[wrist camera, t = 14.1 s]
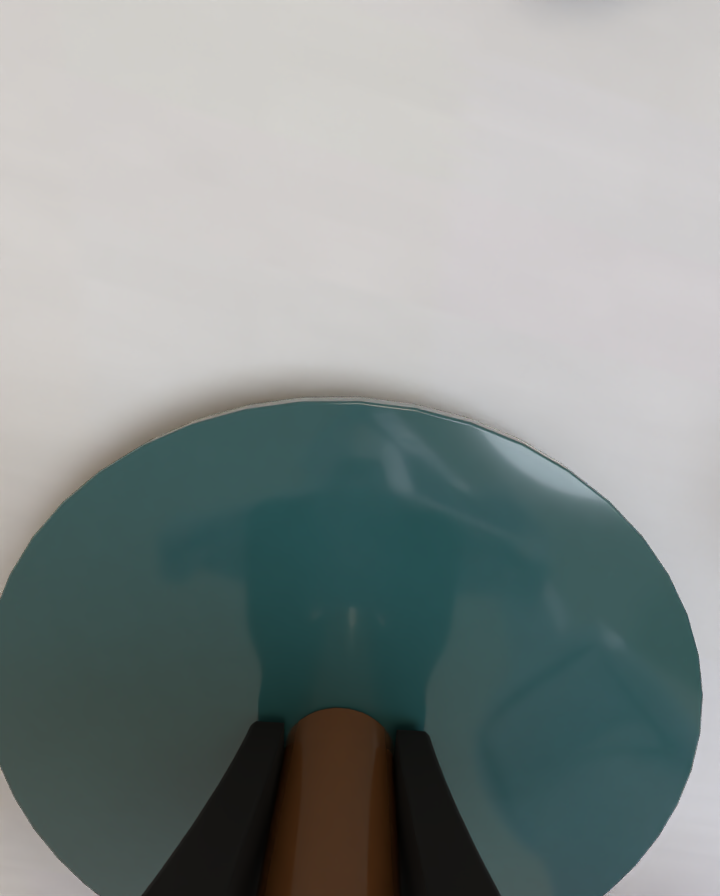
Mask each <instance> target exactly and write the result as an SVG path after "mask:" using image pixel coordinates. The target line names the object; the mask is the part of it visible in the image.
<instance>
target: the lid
mask: <svg viewBox="0 0 720 896" xmlns="http://www.w3.org/2000/svg"><path fill="white" fill-rule="evenodd" d="M702 699H703V693H702V683H701V673H700V663H699V655H698V651H697V648H696V644H695V640H694V637H693V633H692V630H691V626H690V622H689V619H688V615H687V613H686V610H685V608H684V606H683V604H682V602H681V600H680V598H679V595H678V593H677V591H676V589H675V587H674V585H673V583H672V581H671V578H670V576H669V574H668V573H667V571H666V570H665V568H664V567H663V565H662V564H661V563H660V561H659V560H658V558H657V557H656V555H655V554H654V552H653V551H652V549H651V548H650V546H649V545H648V544H647V542H646V541H645V539H644V538H643V536H642V535H641V534H640V533H639V532H638V531H637V530H636V529H635V528H634V527H633V526H632V525H631V524H630V523H629V521H628V520H627V519H626V518H625V517H624V516H623V515H622V514H621V513H620V512H619V511H618V510H617V509H616V508H615V507H614V506H613V505H612V504H611V502H610V501H609V500H607V499H606V498H605V497H604V496H602V495H601V494H600V493H599V492H597V491H596V490H595V489H593V488H592V487H591V486H590V485H588V484H587V483H586V482H585V481H583V480H582V479H581V478H579V477H578V476H577V475H576V474H574V473H573V472H572V471H570V470H569V469H568V468H567V467H565V466H564V465H563V464H562V463H560V462H558V461H557V460H555V459H553V458H551V457H550V456H548V455H546V454H544V453H543V452H541V451H539V450H537V449H536V448H534V447H532V446H530V445H529V444H527V443H525V442H524V441H522V440H520V439H518V438H517V437H514V436H512V435H509V434H507V433H504V432H502V431H499V430H497V429H495V428H492V427H490V426H487V425H485V424H482V423H480V422H477V421H475V420H472V419H470V418H467V417H464V416H460V415H456V414H452V413H448V412H445V411H441V410H437V409H433V408H429V407H425V406H421V405H417V404H413V403H405V402H397V401H389V400H381V399H373V398H365V397H302V398H294V399H287V400H280V401H273V402H265V403H258V404H251V405H247V406H243V407H240V408H236V409H232V410H229V411H225V412H222V413H218V414H214V415H211V416H207V417H204V418H200V419H197V420H195V421H193V422H190V423H188V424H186V425H183V426H181V427H179V428H176V429H174V430H172V431H169V432H167V433H165V434H162V435H160V436H158V437H156V438H153V439H151V440H149V441H148V442H146V443H144V444H143V445H141V446H140V447H138V448H136V449H135V450H133V451H131V452H130V453H128V454H127V455H125V456H123V457H122V458H120V459H118V460H117V461H115V462H114V463H112V464H110V465H109V466H107V467H105V468H104V469H102V470H100V471H99V472H98V473H97V474H96V475H94V476H93V477H92V478H91V479H90V480H88V481H87V482H86V483H85V484H84V485H82V486H81V487H80V488H79V489H78V490H77V491H75V492H74V493H73V494H72V495H71V496H69V497H68V498H67V499H66V500H65V501H64V502H62V504H61V505H60V506H59V507H58V508H57V509H56V511H55V512H54V513H53V514H52V515H51V516H50V517H49V519H48V520H47V521H46V522H45V523H44V524H43V526H42V527H41V528H40V529H39V530H38V531H37V533H36V534H35V535H34V536H33V537H32V539H31V541H30V542H29V544H28V546H27V547H26V549H25V550H24V552H23V554H22V555H21V557H20V559H19V560H18V562H17V563H16V565H15V567H14V568H13V570H12V572H11V573H10V576H9V578H8V580H7V583H6V585H5V588H4V590H3V593H2V595H1V598H0V767H1V770H2V772H3V774H4V776H5V779H6V781H7V783H8V785H9V788H10V790H11V792H12V794H13V796H14V798H15V800H16V802H17V803H18V805H19V806H20V808H21V810H22V811H23V813H24V814H25V816H26V818H27V819H28V821H29V822H30V824H31V826H32V827H33V829H34V830H35V831H36V832H37V834H38V835H39V836H40V837H41V839H42V840H43V841H44V842H45V844H46V845H47V846H48V847H49V848H50V850H51V851H52V852H53V853H54V855H55V856H56V857H57V858H58V859H59V860H60V861H61V862H62V863H63V864H64V865H65V866H66V867H67V868H68V869H69V870H70V871H71V872H72V873H73V874H74V875H75V876H76V877H78V878H79V879H80V880H81V881H82V882H83V883H84V884H85V885H86V886H88V887H89V888H90V889H91V890H93V891H94V892H95V893H97V894H98V895H99V896H141V895H142V894H143V893H144V891H145V890H146V889H147V887H148V886H149V885H150V883H151V882H152V881H153V879H154V878H155V877H156V875H157V874H158V873H159V871H160V870H161V869H162V867H163V866H164V864H165V863H166V862H167V860H168V859H169V857H170V856H171V854H172V853H173V852H174V850H175V849H176V847H177V846H178V845H179V843H180V842H181V840H182V839H183V837H184V836H185V835H186V833H187V832H188V830H189V829H190V827H191V826H192V824H193V823H194V821H195V820H196V818H197V817H198V815H199V814H200V812H201V811H202V809H203V808H204V806H205V804H206V803H207V801H208V800H209V798H210V797H211V795H212V793H213V792H214V790H215V789H216V787H217V786H218V784H219V782H220V781H221V779H222V777H223V776H224V774H225V772H226V771H227V769H228V767H229V765H230V764H231V762H232V760H233V759H234V757H235V755H236V753H237V751H238V750H239V748H240V746H241V744H242V742H243V740H244V738H245V736H246V734H247V732H248V730H249V728H250V726H251V725H252V724H253V723H254V722H256V721H262V722H279V723H284V753H283V758H282V764H281V769H280V774H279V779H278V784H277V789H276V795H275V799H274V804H273V809H272V814H271V819H270V824H269V829H268V834H267V839H266V845H265V850H264V855H263V860H262V865H261V870H260V876H259V881H258V886H257V891H256V896H402V889H401V871H400V853H399V834H398V817H397V804H396V786H395V767H394V753H395V742H396V732H397V730H412V731H425V732H426V733H427V734H428V735H429V736H430V739H431V742H432V745H433V748H434V751H435V754H436V757H437V759H438V762H439V765H440V767H441V770H442V773H443V775H444V778H445V780H446V782H447V785H448V787H449V790H450V792H451V794H452V797H453V799H454V801H455V804H456V806H457V808H458V810H459V813H460V815H461V817H462V819H463V821H464V823H465V825H466V827H467V830H468V832H469V834H470V836H471V838H472V840H473V842H474V844H475V846H476V848H477V850H478V852H479V854H480V856H481V858H482V860H483V862H484V864H485V866H486V868H487V870H488V872H489V874H490V876H491V878H492V880H493V881H494V883H495V885H496V887H497V889H498V891H499V893H500V895H501V896H603V895H605V894H606V893H607V892H609V891H610V890H611V889H612V888H613V887H614V886H615V885H616V884H617V883H618V882H619V881H620V880H621V879H622V878H623V877H624V876H625V875H626V874H627V873H628V872H629V871H630V870H631V869H632V868H633V867H635V866H636V864H637V863H638V862H639V861H640V859H641V858H642V857H643V856H644V854H645V853H646V852H647V851H648V849H649V848H650V847H651V846H652V844H653V843H654V842H655V841H656V839H657V838H658V837H659V835H660V833H661V832H662V830H663V828H664V827H665V825H666V823H667V822H668V820H669V818H670V817H671V815H672V813H673V812H674V810H675V808H676V806H677V805H678V802H679V800H680V797H681V795H682V793H683V790H684V788H685V785H686V783H687V780H688V778H689V775H690V773H691V770H692V766H693V762H694V758H695V754H696V749H697V745H698V741H699V736H700V729H701V714H702Z"/></svg>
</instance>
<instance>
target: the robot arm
mask: <svg viewBox="0 0 720 896" xmlns="http://www.w3.org/2000/svg"><path fill="white" fill-rule="evenodd" d="M283 753H284V723H279V722H262V721H256V722H254V723H253V724H252V725H251V726H250V728H249V730H248V732H247V734H246V736H245V738H244V740H243V742H242V744H241V746H240V748H239V750H238V751H237V753H236V755H235V757H234V759H233V760H232V762H231V764H230V765H229V767H228V769H227V771H226V772H225V774H224V776H223V777H222V779H221V781H220V782H219V784H218V786H217V787H216V789H215V790H214V792H213V793H212V795H211V797H210V798H209V800H208V801H207V803H206V804H205V806H204V808H203V809H202V811H201V812H200V814H199V815H198V817H197V818H196V820H195V821H194V823H193V824H192V826H191V827H190V829H189V830H188V832H187V833H186V835H185V836H184V837H183V839H182V840H181V842H180V843H179V845H178V846H177V847H176V849H175V850H174V852H173V853H172V854H171V856H170V857H169V859H168V860H167V862H166V863H165V864H164V866H163V867H162V869H161V870H160V871H159V873H158V874H157V875H156V877H155V878H154V879H153V881H152V882H151V883H150V885H149V886H148V887H147V889H146V890H145V891H144V893H143V894H142V895H141V896H256V891H257V886H258V881H259V876H260V870H261V865H262V860H263V855H264V850H265V845H266V839H267V834H268V829H269V824H270V819H271V814H272V809H273V804H274V799H275V795H276V789H277V784H278V779H279V774H280V769H281V764H282V758H283ZM394 767H395V786H396V804H397V817H398V834H399V853H400V871H401V889H402V896H501V895H500V893H499V891H498V889H497V887H496V885H495V883H494V881H493V880H492V878H491V876H490V874H489V872H488V870H487V868H486V866H485V864H484V862H483V860H482V858H481V856H480V854H479V852H478V850H477V848H476V846H475V844H474V842H473V840H472V838H471V836H470V834H469V832H468V830H467V827H466V825H465V823H464V821H463V819H462V817H461V815H460V813H459V810H458V808H457V806H456V804H455V801H454V799H453V797H452V794H451V792H450V790H449V787H448V785H447V782H446V780H445V778H444V775H443V773H442V770H441V767H440V765H439V762H438V759H437V757H436V754H435V751H434V748H433V745H432V742H431V739H430V736H429V735H428V734H427V733H426V732H425V731H412V730H397V732H396V742H395V753H394Z"/></svg>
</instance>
